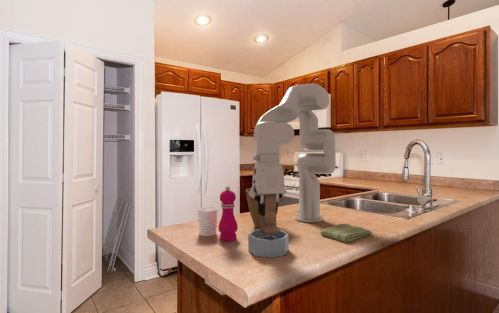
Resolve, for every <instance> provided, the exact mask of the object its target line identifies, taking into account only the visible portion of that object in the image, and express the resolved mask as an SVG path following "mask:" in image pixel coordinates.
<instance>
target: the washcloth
mask: <svg viewBox="0 0 499 313" xmlns="http://www.w3.org/2000/svg"><path fill="white" fill-rule="evenodd" d="M320 235H321V236H323V237H326V238H328V239H334V240H336V241H337V242H338V241H339V242H342V243H345V244H348V243H351V242H355V241H357V240H359V239H362V238H365V237H366V236H367V237H368V236H370V235H373V232H372V231H371V230H370V229H367V228H364V227H361V226H359V225H358V226H357V225H351V224H350V223H340V224H336V225H333V226H329V227H326V228H325V227H324V228H323V229H321V231H320Z"/></svg>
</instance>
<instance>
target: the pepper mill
mask: <svg viewBox="0 0 499 313" xmlns="http://www.w3.org/2000/svg"><path fill="white" fill-rule="evenodd" d="M224 189H225V190H223V191H222V192H221V193H220V195H219V200H220V202H221V203H220V206H221V208H222V213H221V217H220V220H219V224H218V231H219V233H220V234H219V240H220V241H221V242H225V243H228V242H229V243H231V242H234V240H235V241H236V240H237V231H238V228H239V227H238V222H237V220H236V218H235V214H234V213H235V212H234V208H235V201H236V198H237V197H236V193H235V192H234V191H232V190H231V186H228V185H227V186H225V188H224ZM230 241H231V242H230Z"/></svg>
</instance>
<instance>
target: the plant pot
mask: <svg viewBox="0 0 499 313" xmlns="http://www.w3.org/2000/svg"><path fill="white" fill-rule="evenodd" d="M251 188H252V187H250V188H247V189H246V190H245V195H246V201H247V205H248V211H249V213H250V217H251V219H252V223H253V225H254V227H255V228H257V227H258V229H260V215H259V213H258V202H257V201H256V200H255V199H254V198H253V197H251V196H250V195H248V193H249V191H250V190H251ZM255 194H256V195H257V194H258V193H255Z"/></svg>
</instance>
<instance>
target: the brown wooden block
mask: <svg viewBox="0 0 499 313" xmlns="http://www.w3.org/2000/svg"><path fill="white" fill-rule="evenodd" d="M263 203H264V204H265V216H262V215H260V228H259V229H260V232H261V233H263V234H265V235H269V234H276V229H277V214H276V194H266V195H265V196H264V202H263Z"/></svg>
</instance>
